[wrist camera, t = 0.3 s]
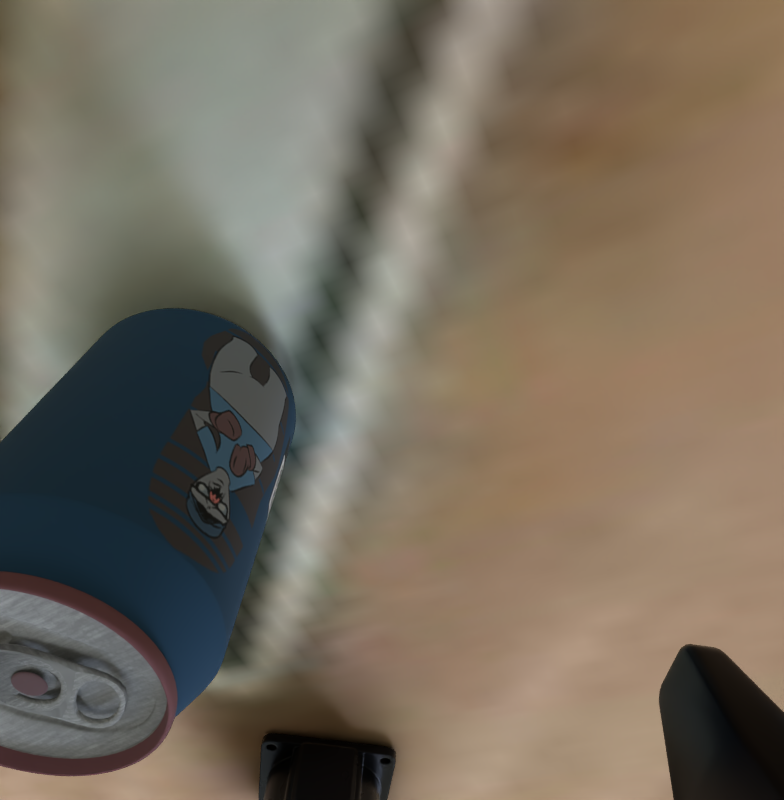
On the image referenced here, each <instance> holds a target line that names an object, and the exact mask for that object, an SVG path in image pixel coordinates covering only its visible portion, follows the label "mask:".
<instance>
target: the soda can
mask: <svg viewBox="0 0 784 800" xmlns="http://www.w3.org/2000/svg"><path fill="white" fill-rule="evenodd" d="M295 422H296V410H295V402H294V397H293V393H292V390H291V387H290V384H289V382H288V380H287V377H286V375H285V373H284V372H283V370H282V368H281V366H280V365H279V363H278V362H277V361H276V359H275V358H274V357H273V355H272V354H271V353H270V352H269V351H268V350H267V348H266V347H265V346H264V345H263V344H262V343H261V342H259V341H258V340H257V339H256V338H255V337H254V336H252V335H251V334H250V333H248V332H247V331H245V330H244V329H242V328H241V327H239V326H237V325H236V324H234V323H232V322H230V321H228V320H225V319H223V318H221V317H218V316H215V315H212V314H209V313H205V312H201V311H196V310H190V309H179V308H167V309H157V310H150V311H146V312H142V313H139V314H136V315H133V316H131V317H128V318H126V319H124V320H122V321H121V322H119V323H117V324H116V325H114V326H113V327H111V328H110V329H109V330H108V331H107V332H106V333H105V334H104V335H103V336H102V337H101V338H100V339H99V340H98V341H97V342H96V343H95V344H94V345H93V346H92V347H91V348H90V349H89V350H88V351H87V352H86V353H85V354H84V355H83V356H82V357H81V359H80V360H79V361H78V362H77V363H76V364H75V365H74V366H73V367H72V368H71V369H70V370H69V371H68V372H67V373H66V374H65V375H64V376H63V377H62V378H61V379H60V380H59V382H58V383H57V384H56V385H55V386H54V387H53V388H52V389H51V390H50V391H49V392H48V393H47V394H46V395H45V396H44V397H43V398H42V399H41V400H40V401H39V402H38V404H37V405H36V406H35V407H34V408H33V409H32V410H31V411H30V412H29V413H28V414H27V415H26V416H25V417H24V418H23V419H22V420H21V421H20V422H19V423H18V424H17V425H16V427H15V428H14V429H13V430H12V431H11V432H10V433H9V434H8V435H7V436H6V437H5V438H4V439H3V440H2V441H1V442H0V766H3V767H7V768H11V769H16V770H20V771H25V772H31V773H37V774H44V775H55V776H87V775H96V774H102V773H108V772H112V771H116V770H119V769H122V768H125V767H128V766H130V765H133V764H135V763H137V762H139V761H140V760H142V759H144V758H145V757H147V756H148V755H150V754H151V753H152V752H153V751H154V750H155V749H156V748H158V746H159V745H160V744H161V743H162V742H163V740H164V739H165V738H166V736H167V734H168V732H169V730H170V728H171V726H172V724H173V721H174V718H175V717H176V716H177V715H178V714H179V713H180V712H181V711H182V710H184V709H185V708H186V707H187V706H188V705H189V704H190V703H191V702H192V701H193V700H194V699H195V698H196V697H197V696H199V695H200V694H201V693H202V692H203V691H204V690H205V688H206V687H207V686H208V685H209V684H210V683H211V681H212V680H213V679H214V677H215V676H216V674H217V672H218V670H219V669H220V667H221V664H222V662H223V659H224V656H225V652H226V649H227V646H228V643H229V640H230V636H231V633H232V630H233V627H234V624H235V621H236V617H237V614H238V611H239V608H240V605H241V601H242V598H243V595H244V592H245V589H246V585H247V582H248V579H249V576H250V573H251V569H252V566H253V563H254V560H255V557H256V553H257V550H258V547H259V544H260V541H261V538H262V534H263V531H264V528H265V525H266V522H267V518H268V515H269V512H270V509H271V506H272V502H273V499H274V496H275V493H276V490H277V486H278V483H279V480H280V477H281V474H282V471H283V467H284V464H285V461H286V458H287V455H288V451H289V448H290V445H291V442H292V439H293V435H294V430H295Z"/></svg>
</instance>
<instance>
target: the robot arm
mask: <svg viewBox="0 0 784 800" xmlns="http://www.w3.org/2000/svg"><path fill="white" fill-rule="evenodd" d="M659 705H660V713H661V719H662V726H663V732H664V739H665V745H666V752H667V758H668V765H669V772H670V778H671V785H672V791H673V798H674V800H784V712H783V711H782V710H781V709H780V708H779V707H778V706H777V705H776V704H775V703H774V702H773V701H772V700H771V699H770V698H769V697H768V696H767V695H766V694H765V693H764V692H763V691H762V690H761V689H760V688H759V687H758V686H757V685H756V684H755V683H754V682H753V681H752V680H751V679H750V678H749V677H748V676H747V675H746V674H745V673H744V672H743V671H742V670H741V669H740V668H739V667H738V666H737V665H736V664H735V663H734V662H733V661H732V660H731V659H730V658H729V657H728V656H727V655H726V654H725V653H724V652H723V651H721V650H720V649H717V648H715V647H708V646H701V645H693V644H687V645H685V646H683V647H682V648H681V649H680V651H679V652H678V654H677V656H676V658H675V660H674V662H673V664H672V666H671V668H670V669H669V671H668V673H667V675H666V677H665V679H664V681H663V683H662V685H661V689H660V694H659ZM395 762H396V752H395V751H394V750H393V749H392V748H389V747H382V746H374V745H365V744H357V743H349V742H340V741H332V740H324V739H315V738H307V737H299V736H291V735H282V734H274V733H270V734H266V735H265V736H264V737H263V741H262V745H261V762H260V782H259V800H387V798H388V794H389V789H390V785H391V780H392V776H393V771H394V767H395Z"/></svg>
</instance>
